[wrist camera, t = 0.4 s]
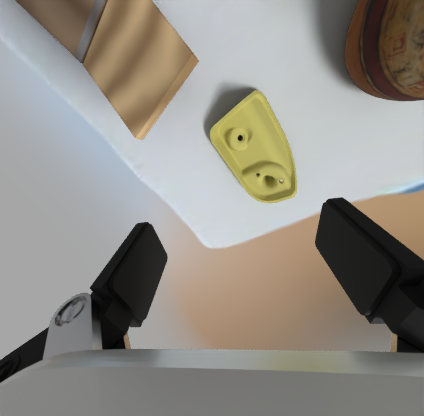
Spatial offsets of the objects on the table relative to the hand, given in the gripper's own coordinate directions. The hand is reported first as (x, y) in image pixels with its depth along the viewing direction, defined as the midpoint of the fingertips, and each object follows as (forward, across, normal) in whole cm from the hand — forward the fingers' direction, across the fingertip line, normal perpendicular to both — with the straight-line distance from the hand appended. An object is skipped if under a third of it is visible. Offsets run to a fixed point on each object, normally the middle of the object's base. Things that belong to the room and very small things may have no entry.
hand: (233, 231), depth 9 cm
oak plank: (+25, +12, -14) cm, 30 cm away
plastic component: (+29, -6, +4) cm, 30 cm away
